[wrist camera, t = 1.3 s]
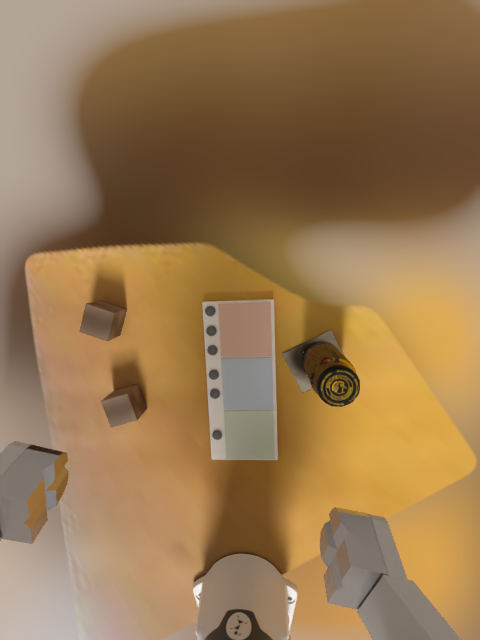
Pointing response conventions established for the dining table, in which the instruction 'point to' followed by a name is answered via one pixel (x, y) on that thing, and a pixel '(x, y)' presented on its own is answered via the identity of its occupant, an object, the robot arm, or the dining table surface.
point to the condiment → (324, 370)
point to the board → (241, 379)
